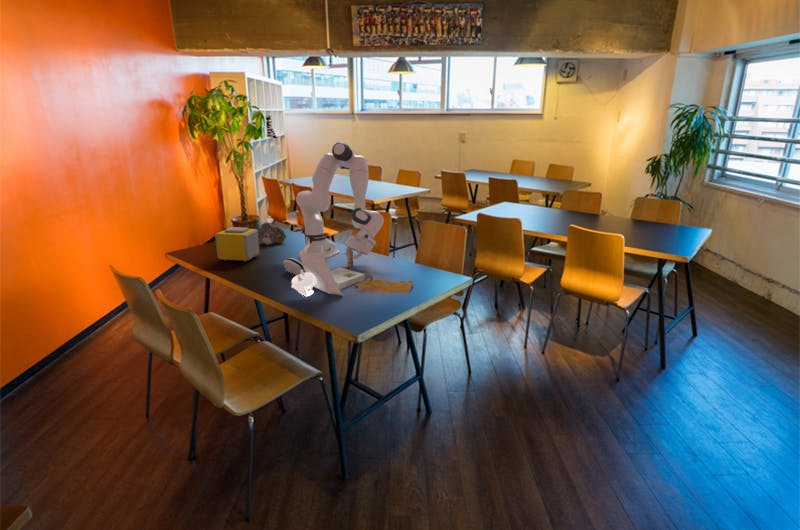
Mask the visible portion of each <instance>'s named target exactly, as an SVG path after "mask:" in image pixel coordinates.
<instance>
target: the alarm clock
mask: <svg viewBox="0 0 800 530" xmlns="http://www.w3.org/2000/svg"><path fill="white" fill-rule="evenodd" d="M214 239H215V247H216V254H217V256H216V257H217V259H218V260H224V262H226V261H228V260H229V261H243V262H245V263H247V262H248V261H249V260H251V259H253V257H254V258H255V257H256V256H258V255H260V252H261V251H260V243H259V240H260V239H258V229H256V228H249V227H242V226H241V227H240V226H238V227H237V226H230V227H228V228H226V229H223V230H221V231H218V232H216V233H215V234H214ZM246 261H247V262H246Z"/></svg>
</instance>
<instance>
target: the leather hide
mask: <svg viewBox="0 0 800 530" xmlns="http://www.w3.org/2000/svg"><path fill="white" fill-rule="evenodd" d="M413 284H414V281H412V280H409V281H408V280H400V281H394V280H386V279H385V280H384V279H381V278H380V279H379V278H373V275H371V274H370V275H369V278H368V279H365V280H363V281H360V282H358V283H355V284H354V286H356V287H357V291H358V290H360V291H359V292H363V291H364V292H365V291H370V293H371V292H372V293H376V292H377V293H378V294H385V293H386V294H387V295H389V294H388V293H391V294H390V295H395V294H394V293H409V294H410V292H411V289H412V286H413ZM386 294H385V295H386Z"/></svg>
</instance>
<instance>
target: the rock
mask: <svg viewBox="0 0 800 530" xmlns="http://www.w3.org/2000/svg"><path fill="white" fill-rule="evenodd" d="M257 231H258V240H260V241H262V242H263V243H264V244H265V245H266V246H270V245H273V244H276V243H278V244H283V242H284V241H286V239H287V235H286V234H285V232H284V229H282V228H280V227H279V226H278V225H276V224H273V223H272V222H268V221H265V222H263V223H261V224H260V225H259V227H258V229H257Z"/></svg>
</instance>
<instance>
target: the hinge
mask: <svg viewBox="0 0 800 530" xmlns="http://www.w3.org/2000/svg"><path fill="white" fill-rule="evenodd" d="M282 263H283V266H284V269H285V271H286V272H287V271H288V272H287V273H289V272H290V274H292V273H293V274H292V275H294V274H295V275H294V276H297V275H298V274H301V272H300V270H301V269H303V271H304V273H305V270H304V267H303V266H302V261H301V260H299V259H297V258H294V257H289V258H286V259H285V260H283V262H282Z"/></svg>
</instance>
